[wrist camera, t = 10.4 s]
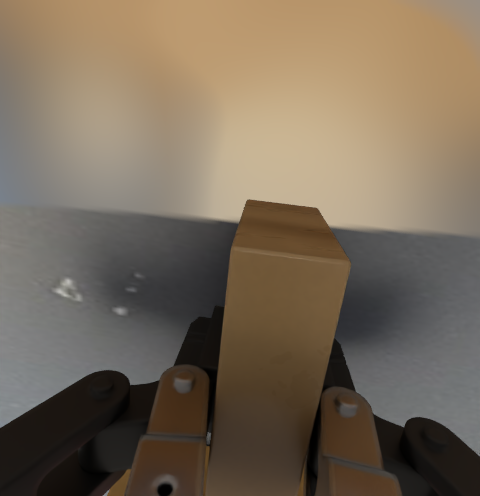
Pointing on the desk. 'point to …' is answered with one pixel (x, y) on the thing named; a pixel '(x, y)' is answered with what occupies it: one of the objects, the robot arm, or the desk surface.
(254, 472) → the cake knife
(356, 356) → the desk surface
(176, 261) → the desk surface
